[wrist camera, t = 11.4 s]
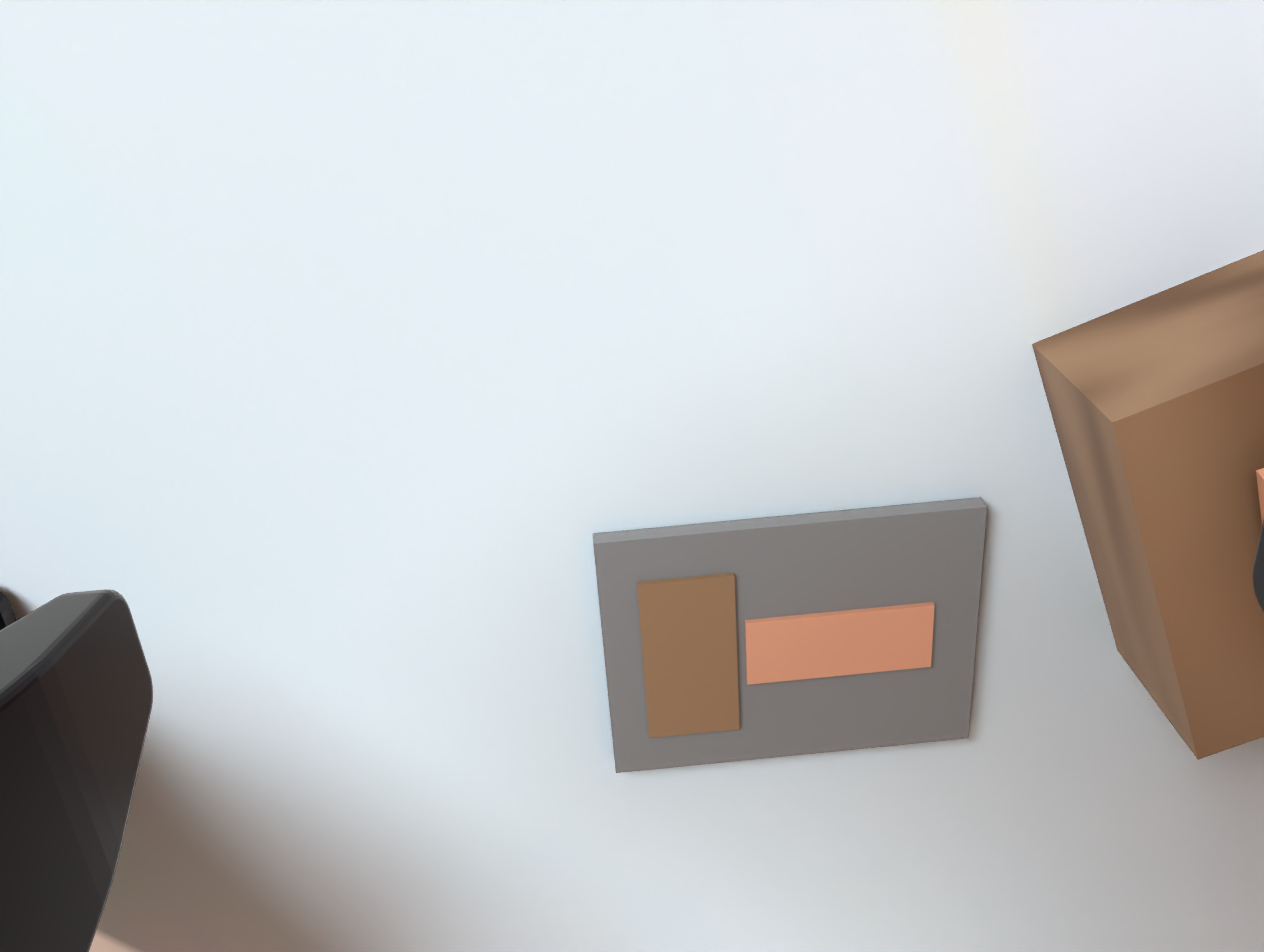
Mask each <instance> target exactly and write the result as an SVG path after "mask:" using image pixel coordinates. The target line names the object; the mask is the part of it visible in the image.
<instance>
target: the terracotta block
mask: <svg viewBox="0 0 1264 952" xmlns="http://www.w3.org/2000/svg"><path fill="white" fill-rule="evenodd" d="M1256 475H1257V484H1258V493H1259V502H1260V510H1261V519H1262V524H1263V519H1264V468H1262V469H1259V470H1256Z"/></svg>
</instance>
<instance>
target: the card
mask: <svg viewBox="0 0 1264 952" xmlns="http://www.w3.org/2000/svg"><path fill="white" fill-rule="evenodd" d="M986 515H987V506H986V504H985V503H984V502H983V500H982V499H981V497H980V498H969V499H958V500H948V501H937V502H926V503H916V504H905V505H894V506H884V507H873V508H862V509H851V510H841V511H830V512H819V513H809V514H798V515H787V516H776V517H766V518H755V519H744V520H734V521H723V522H712V523H701V524H691V525H680V526H669V527H659V528H648V529H637V530H626V531H616V532H605V533H594V534H593V543H594V554H595V564H596V574H597V584H598V594H599V605H600V615H601V625H602V635H603V646H604V656H605V666H606V676H607V686H608V697H609V707H610V717H611V727H612V737H613V748H614V758H615V768H616V773H620V772H631V771H641V770H651V769H661V768H671V767H681V766H691V765H701V764H711V763H721V762H732V761H742V760H752V759H762V758H772V757H782V756H792V755H802V754H812V753H823V752H833V751H843V750H853V749H863V748H873V747H883V746H893V745H903V744H914V743H924V742H934V741H944V740H954V739H964V738H968V736H969V724H970V711H971V699H972V687H973V675H974V662H975V650H976V638H977V625H978V613H979V601H980V589H981V576H982V564H983V552H984V540H985V527H986Z"/></svg>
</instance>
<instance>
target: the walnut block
mask: <svg viewBox="0 0 1264 952" xmlns="http://www.w3.org/2000/svg"><path fill="white" fill-rule="evenodd" d="M1032 346H1033V349H1034V353H1035V357H1036V360H1037V364H1038V367H1039V371H1040V374H1041V378H1042V382H1043V385H1044V389H1045V392H1046V396H1047V400H1048V403H1049V407H1050V410H1051V414H1052V417H1053V421H1054V425H1055V428H1056V432H1057V435H1058V439H1059V442H1060V446H1061V450H1062V453H1063V457H1064V460H1065V464H1066V467H1067V471H1068V475H1069V478H1070V482H1071V485H1072V489H1073V492H1074V496H1075V500H1076V503H1077V507H1078V510H1079V514H1080V517H1081V521H1082V525H1083V528H1084V532H1085V535H1086V539H1087V542H1088V546H1089V550H1090V553H1091V557H1092V560H1093V564H1094V567H1095V571H1096V575H1097V578H1098V582H1099V585H1100V589H1101V593H1102V596H1103V600H1104V603H1105V607H1106V610H1107V614H1108V618H1109V621H1110V625H1111V628H1112V632H1113V635H1114V639H1115V643H1116V646H1117V650H1118V651H1119V653H1120V654H1121V655H1122V657H1123V658H1124V660H1125V661H1126V662H1127V664H1128V665H1129V666H1130V668H1131V669H1132V670H1133V672H1134V673H1135V675H1136V676H1137V677H1138V679H1139V680H1140V681H1141V683H1142V684H1143V685H1144V687H1145V688H1146V690H1147V691H1148V692H1149V694H1150V695H1151V696H1152V698H1153V699H1154V700H1155V702H1156V703H1157V705H1158V706H1159V707H1160V709H1161V710H1162V711H1163V713H1164V714H1165V715H1166V717H1167V718H1168V720H1169V721H1170V722H1171V724H1172V725H1173V726H1174V728H1175V729H1176V730H1177V732H1178V733H1179V734H1180V736H1181V737H1182V739H1183V740H1184V741H1185V743H1186V744H1187V745H1188V747H1189V748H1190V749H1191V751H1192V752H1193V754H1194V755H1195V756H1196V758H1197V759H1201V758H1204V757H1207V756H1210V755H1212V754H1215V753H1218V752H1221V751H1224V750H1226V749H1229V748H1232V747H1235V746H1238V745H1241V744H1243V743H1246V742H1249V741H1252V740H1255V739H1258V738H1260V737H1263V736H1264V613H1263V611H1262V609H1261V607H1260V605H1259V603H1258V601H1257V599H1256V595H1255V592H1254V587H1253V567H1254V562H1255V557H1256V553H1257V548H1258V543H1259V538H1260V534H1261V529H1262V519H1261V510H1260V502H1259V493H1258V484H1257V475H1256V470H1259V469H1262V468H1264V250H1263V251H1261V252H1258V253H1256V254H1253V255H1251V256H1248V257H1246V258H1243V259H1241V260H1238V261H1236V262H1234V263H1231V264H1229V265H1226V266H1224V267H1221V268H1219V269H1216V270H1214V271H1211V272H1209V273H1206V274H1204V275H1201V276H1199V277H1197V278H1194V279H1192V280H1189V281H1187V282H1184V283H1182V284H1179V285H1177V286H1174V287H1172V288H1169V289H1167V290H1165V291H1162V292H1160V293H1157V294H1155V295H1152V296H1150V297H1147V298H1145V299H1142V300H1140V301H1137V302H1135V303H1133V304H1130V305H1128V306H1125V307H1123V308H1120V309H1118V310H1115V311H1113V312H1110V313H1108V314H1105V315H1103V316H1101V317H1098V318H1096V319H1093V320H1091V321H1088V322H1086V323H1083V324H1081V325H1078V326H1076V327H1073V328H1071V329H1068V330H1066V331H1064V332H1061V333H1059V334H1056V335H1054V336H1051V337H1049V338H1046V339H1044V340H1041V341H1039V342H1036V343H1034V344H1032Z"/></svg>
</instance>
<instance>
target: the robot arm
mask: <svg viewBox="0 0 1264 952" xmlns="http://www.w3.org/2000/svg"><path fill="white" fill-rule="evenodd" d="M1253 587H1254V592H1255V595H1256V599H1257V601H1258V603H1259V605H1260V607H1261V609H1262V611H1263V613H1264V519H1263V524H1262V529H1261V534H1260V538H1259V543H1258V548H1257V553H1256V557H1255V562H1254V567H1253ZM152 702H153V686H152V679H151V675H150V671H149V668H148V665H147V662H146V659H145V656H144V653H143V650H142V646H141V643H140V640H139V637H138V634H137V631H136V628H135V625H134V621H133V618H132V615H131V612H130V609H129V607H128V604H127V602H126V601H125V599H124V598H123V596H122V595H121V594H119V593H118V592H116V591H114V590H96V591H85V592H74V593H67V594H63V595H60V596H58V597H56V598H55V599H53V600H51V601H49V602H48V603H46V604H44V605H43V606H41V607H39V608H38V609H36V610H34V611H32V612H31V613H29V614H27V615H26V616H24V617H22V618H21V619H19V620H17V621H16V618H15V616H14V613H13V610H12V608H11V605H10V603H9V601H8V600H7V598H6V597H5V596H4V595H3V594H2V593H1V592H0V952H89V949H90V946H91V943H92V941H93V938H94V935H95V932H96V929H97V926H98V924H99V921H100V918H101V915H102V912H103V909H104V906H105V903H106V900H107V897H108V894H109V891H110V887H111V884H112V881H113V878H114V874H115V870H116V866H117V862H118V858H119V854H120V850H121V846H122V842H123V837H124V832H125V828H126V823H127V819H128V814H129V810H130V805H131V800H132V796H133V791H134V787H135V782H136V778H137V773H138V768H139V764H140V759H141V755H142V750H143V746H144V741H145V737H146V732H147V727H148V723H149V718H150V714H151V709H152Z"/></svg>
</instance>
